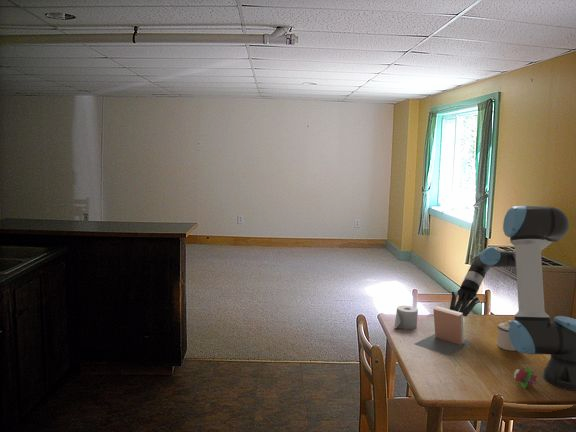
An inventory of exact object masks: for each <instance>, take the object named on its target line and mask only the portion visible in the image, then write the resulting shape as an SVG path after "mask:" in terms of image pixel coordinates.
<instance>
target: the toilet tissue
mask: <svg viewBox="0 0 576 432" xmlns="http://www.w3.org/2000/svg"><path fill="white" fill-rule="evenodd" d="M418 311H419V310H418V309H417V307H415V306H412V305H399V306H397V308H396V313H395V314H396V315H395V320H394V321H395V322H394V327H395V328H394V329H395V330H396V329H397V328H398V327H399V328H398V329H401V328H402V329H401V330H414V329H416V328H417V327H418V316H419V315H418V313H419V312H418ZM397 326H398V327H397Z"/></svg>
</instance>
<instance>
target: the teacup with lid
mask: <svg viewBox="0 0 576 432" xmlns="http://www.w3.org/2000/svg"><path fill="white" fill-rule="evenodd" d="M511 321H512V320H511V319H509V320H507V321H506V322H501V323H499V324H498V325H497V339H496V340H497V341H496V346H497V348H498V347H499V348H501V349H503V350H505V351H511V352H513V351H514V352H515V351H517V350H516V349H515V348H514V346H513V345H512V343H511V340H510V337H509V324H510V322H511Z"/></svg>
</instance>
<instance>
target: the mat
mask: <svg viewBox="0 0 576 432" xmlns="http://www.w3.org/2000/svg"><path fill="white" fill-rule="evenodd" d="M472 343H473V341H471V340H469V339H465V338H464V342H463V343H462V344H461V345H459V344H456V343H453V342H450V341H447V340H444V339H440V338H437V337H435V333H434V334H432V335H430V336H427V337H426V338H423V339H421V340H419V341H417V342H415V343H414V345H416V346H418V347H422V348H424V349H426V350H427V349H428V350H430V351H432V352H437V353H439V354H443V355H445V356H451V355H453V354H454V353H456V352H458V351H460V350H461V349H463V348H465V347H467V346H470V344H472Z"/></svg>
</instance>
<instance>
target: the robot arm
mask: <svg viewBox="0 0 576 432" xmlns="http://www.w3.org/2000/svg"><path fill="white" fill-rule="evenodd" d="M503 218H504V219H503V223H502V229H503V230H502V231H503V232H504V235H505V236H506V237H507V238H509V241H510V242H509V243H511V244H512V245H513V247H514V248H513V249H512V250H498V249H497V248H495V247H494V246H488V247H486V248H484V250H482V251H481V252H479V253H476V254H475V256H474V258H473V259H472V262H471V264H470V266H469V268H468V271H467V273H466V274H465V276H464V279H463V280H462V283H461V285H460V288H459V289H458V290H457V291H455V292H454V291H451V300H450V305H449V309H450V310H453V311H457V312H461V313H463V317H467V316H468V315H469V314H470V313H471V312H472V311H473V309H474V308H475V306H476V305H477V304H478V303H480V299H479V297H477V294H478V292H479V290H480V287H481V285H482V283H483V281H484V278H485V276H486V275H487V272H489V270H490V269H492V268H506V269H509V268H510V269H511V268H514V269H516V285H517V286H516V287H517V288H516V289H517V290H516V291H517V303H518V311H517V312H516V313H515V314H514V319H513V320H511V322H510V324H509V337H510V340H511V343H512V345H513V346H514V348H515V349H516V350H515V351H516V352H518V353H519V354H525V355H526V354H527V355H532V356H533V355H550V357H549V360H548V362H547V364H546V366H545V368H544V370H543V374H542V375H543V378H544V380H545V381H546V382H548V383H550V384H551V385H553V386H555V385H556V386H555V387H558V388H561V387H562V388H561V389H564V388H566V389H565V390H569V389H570V390H569V391H576V318H572V317H569V316H564V315H556V316H554V318H553V321H551V316H550V315H549V314H548V313H546V311H545V310H546V309H545V294H544V281H543V268H542V267H543V266H542V262H543V261H542V251H543V250H544V249H546V248H547V247H548V246H549V245H551V244H552V243H557V242H559V241H560V240H562V239H564V237H565V236H566V235H567V234H568V232H569V229H570V220H569V218H568V216H567V214H566V213H565V212H564V211H562V210H561V209H560V208H558V207H555V206H540V205H539V206H536V205H535V206H534V205H517V206H515V205H514V206H511V207H510V208H509V209H508V210H506V213H505V215H504V217H503ZM457 297H458V299H457Z"/></svg>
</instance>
